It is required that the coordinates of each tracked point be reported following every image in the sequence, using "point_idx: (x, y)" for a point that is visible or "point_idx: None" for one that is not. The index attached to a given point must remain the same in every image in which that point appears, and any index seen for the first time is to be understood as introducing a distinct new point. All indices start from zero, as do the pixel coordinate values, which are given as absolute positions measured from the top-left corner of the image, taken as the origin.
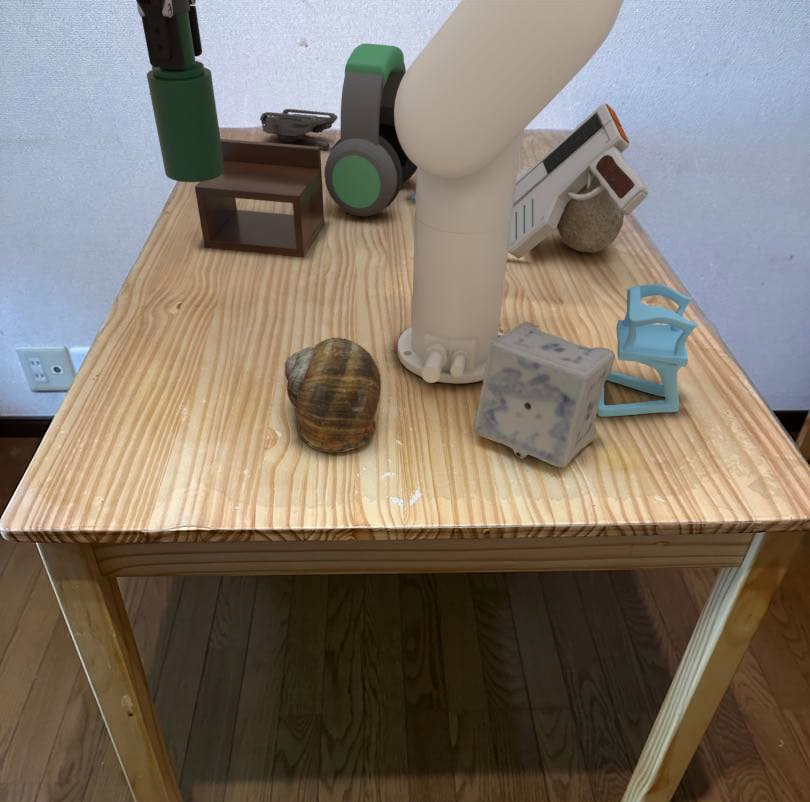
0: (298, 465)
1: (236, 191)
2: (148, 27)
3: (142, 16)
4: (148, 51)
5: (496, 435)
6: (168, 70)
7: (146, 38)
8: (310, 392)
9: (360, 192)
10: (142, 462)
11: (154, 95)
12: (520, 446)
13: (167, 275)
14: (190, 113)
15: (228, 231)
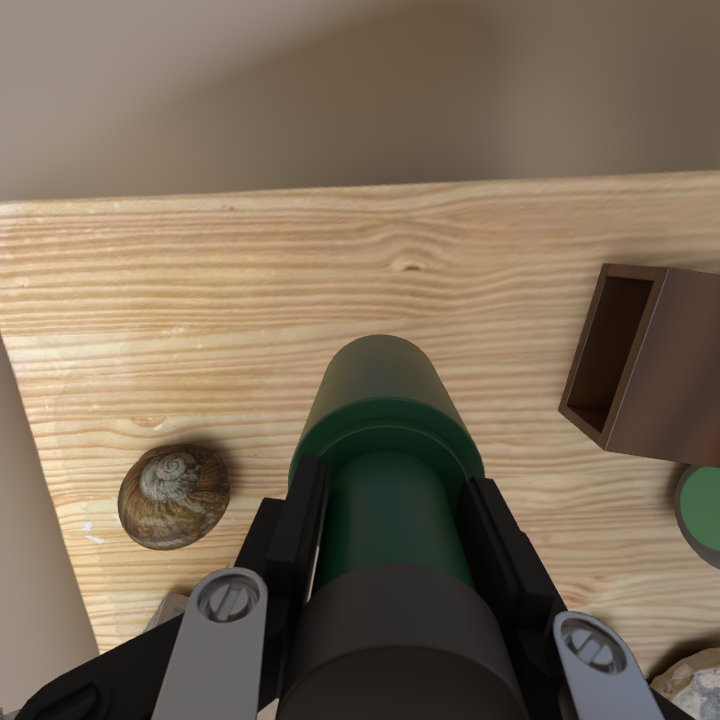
0: (115, 449)
1: (639, 346)
2: (236, 559)
3: (223, 576)
4: (295, 474)
5: (157, 610)
6: (326, 487)
7: (287, 501)
8: (124, 488)
9: (700, 502)
10: (86, 307)
11: (318, 408)
12: (148, 624)
13: (507, 227)
14: None
15: (639, 297)
